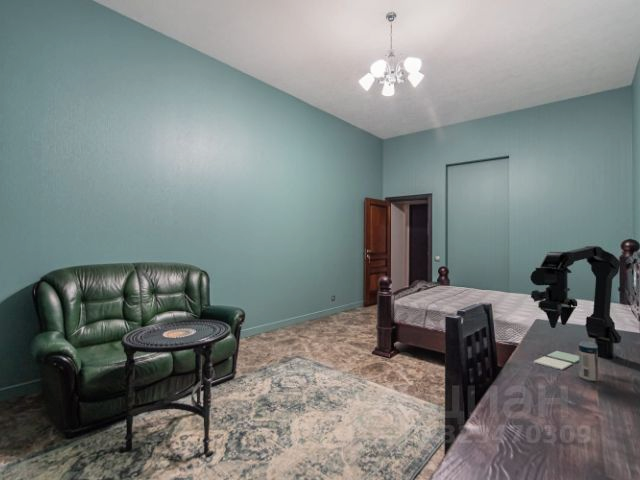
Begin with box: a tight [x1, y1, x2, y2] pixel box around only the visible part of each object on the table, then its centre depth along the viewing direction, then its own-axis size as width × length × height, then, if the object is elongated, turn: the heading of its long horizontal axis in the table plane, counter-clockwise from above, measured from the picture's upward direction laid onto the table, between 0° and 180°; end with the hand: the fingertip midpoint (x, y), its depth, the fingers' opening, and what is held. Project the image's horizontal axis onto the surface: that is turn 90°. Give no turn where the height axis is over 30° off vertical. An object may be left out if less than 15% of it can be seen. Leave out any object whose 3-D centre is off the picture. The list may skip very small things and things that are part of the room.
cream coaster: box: [533, 356, 573, 371], centre depth 118 cm, size 9×9×1 cm
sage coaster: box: [546, 350, 579, 364], centre depth 125 cm, size 9×9×1 cm
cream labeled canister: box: [578, 340, 599, 382], centre depth 105 cm, size 5×5×12 cm
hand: (558, 326), depth 120 cm, fingers open, 9 cm apart
